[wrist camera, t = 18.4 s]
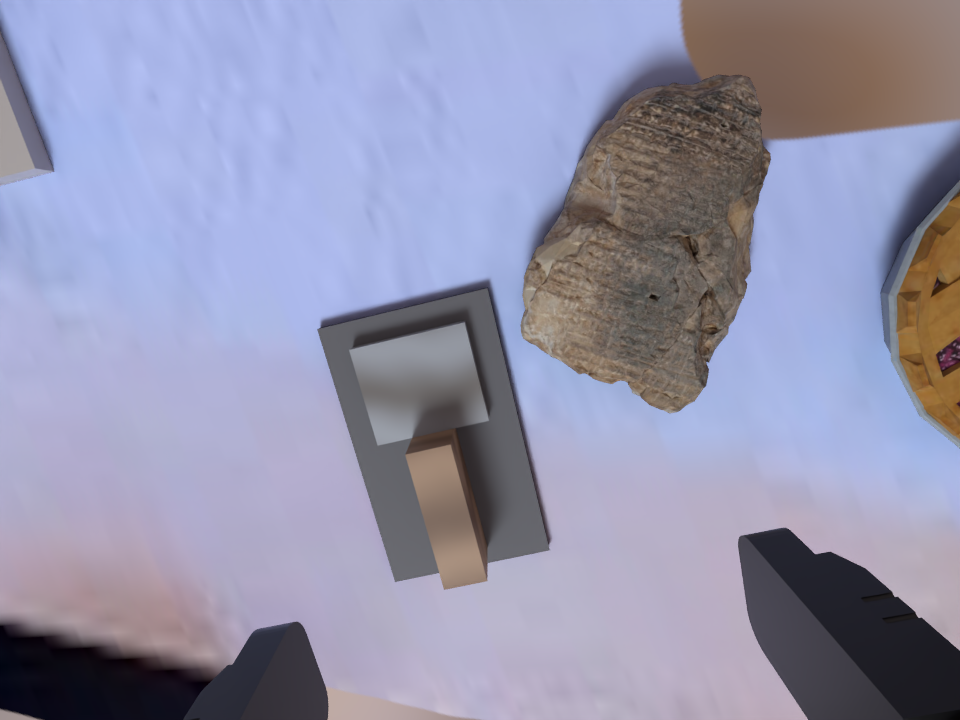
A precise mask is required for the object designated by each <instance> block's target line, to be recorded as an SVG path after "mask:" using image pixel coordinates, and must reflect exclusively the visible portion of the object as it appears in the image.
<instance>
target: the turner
mask: <svg viewBox="0 0 960 720" xmlns="http://www.w3.org/2000/svg"><path fill="white" fill-rule="evenodd" d="M349 352H350V355H351V358H352V362H353V365H354V368H355V372H356V375H357V378H358V382H359V385H360V388H361V392H362V395H363V398H364V402H365V405H366V408H367V412H368V415H369V418H370V422H371V425H372V429H373V432H374V435H375V439H376V442H377V445H383V444H387V443H392V442H396V441H401V440H405V439H410V438H412V439H411V442H410V444H409V447H408V449H407V452H406V454H405V456H406V459H407V463H408V466H409V470H410V473H411V476H412V480H413V483H414V487H415V490H416V494H417V497H418V501H419V504H420V508H421V511H422V515H423V518H424V521H425V525H426V528H427V532H428V535H429V539H430V542H431V546H432V549H433V553H434V556H435V560H436V563H437V566H438V570H439V573H440V577H441V580H442V584H443V587H444V590H445V589H450V588H455V587H460V586H465V585H470V584H475V583H480V582H485V581H487V557H488V547H487V544H486V540H485V536H484V532H483V528H482V525H481V521H480V517H479V513H478V509H477V506H476V502H475V498H474V494H473V491H472V487H471V483H470V479H469V475H468V472H467V468H466V464H465V460H464V457H463V453H462V449H461V445H460V441H459V438H458V434H457V430H456V428H459V427H463V426H468V425H472V424H476V423H481V422H485V421H489V414H488V410H487V406H486V402H485V398H484V394H483V390H482V386H481V382H480V378H479V374H478V370H477V366H476V362H475V358H474V354H473V350H472V346H471V342H470V338H469V334H468V330H467V326H466V322H465V321H461V322H456V323H452V324H448V325H444V326H440V327H436V328H431V329H427V330H423V331H419V332H415V333H410V334H406V335H402V336H398V337H394V338H389V339H385V340H381V341H377V342H373V343H368V344H364V345H360V346H356V347H352V348H351V349H350V350H349Z"/></svg>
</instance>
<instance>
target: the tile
mask: <svg viewBox="0 0 960 720" xmlns="http://www.w3.org/2000/svg"><path fill="white" fill-rule="evenodd" d="M51 172H54V170H53V167H52V165H51V162H50V159H49V157H48V154H47V152H46V149H45V146H44V144H43V141H42V139H41V136H40V133H39V131H38V128H37V126H36V123H35V120H34V118H33V115H32V112H31V110H30V107H29V105H28V102H27V99H26V97H25V94H24V92H23V89H22V86H21V84H20V81H19V79H18V76H17V73H16V71H15V68H14V65H13V63H12V60H11V58H10V55H9V52H8V50H7V47H6V45H5V42H4V39H3V37H2V34H1V32H0V186H2V185H6V184H10V183H14V182H17V181H21V180H25V179H29V178H33V177H36V176H40V175H44V174H48V173H51Z"/></svg>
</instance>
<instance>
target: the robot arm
mask: <svg viewBox="0 0 960 720" xmlns="http://www.w3.org/2000/svg"><path fill="white" fill-rule="evenodd" d="M738 548H739V555H740V562H741V569H742V576H743V583H744V590H745V597H746V604H747V611H748V616H749V620H750V623H751V626H752V629H753V631H754V634H755V636H756V639H757V641H758V643H759V645H760V647H761V649H762V650H763V652H764V654H765V655H766V657H767V658H768V660H769V661H770V663H771V664H772V666H773V667H774V669H775V670H776V672H777V673H778V675H779V676H780V678H781V679H782V681H783V682H784V684H785V685H786V687H787V688H788V690H789V691H790V693H791V694H792V696H793V697H794V699H795V700H796V702H797V703H798V705H799V706H800V708H801V709H802V711H803V712H804V714H805V715H806V717H807V718H808V720H960V651H959V650H958V649H957V648H956V647H955V646H954V645H952V644H951V643H950V642H949V641H948V640H947V639H945V638H944V637H943V636H942V635H941V634H940V633H939V632H937V631H936V630H935V629H934V628H933V627H932V626H931V625H929V624H928V623H927V622H926V621H925V620H924V619H923V618H918V617H917V615H916V613H915V611H913V610H912V609H911V608H910V607H909V606H908V605H907V604H905V603H904V602H903V601H902V600H901V599H900V598H899V597H894V595H893V593H892V591H891V590H889V589H888V588H887V587H886V586H885V585H884V584H882V583H881V582H880V581H879V580H878V579H877V578H876V577H874V576H873V575H872V574H871V573H870V572H869V571H868V570H866V569H865V568H863V567H861V566H859V565H857V564H855V563H853V562H851V561H849V560H847V559H845V558H842V557H840V556H838V555H836V554H834V553H832V552H826V553H821V554H816V555H815V554H814V553H813V552H812V551H811V550H810V549H809V548H808V547H807V546H806V545H805V544H804V543H803V542H802V541H801V540H800V539H799V538H798V537H797V536H796V535H795V534H794V533H792V532H791V531H790V530H789V529H787V528H779V529H774V530H769V531H764V532H759V533H754V534H749V535H744V536H740V537H739V541H738ZM327 719H328V696H327V691H326V687H325V684H324V681H323V678H322V676H321V673H320V670H319V667H318V665H317V662H316V659H315V656H314V653H313V651H312V648H311V645H310V642H309V640H308V637H307V634H306V631H305V629H304V627H303V626H302V625H301V624H300V623H299V622H292V623H287V624H282V625H277V626H271V627H266V628H261V629H257V630H255V631H254V632H253V633H252V634H251V636H250V637H249V639H248V640H247V642H246V644H245V645H244V647H243V649H242V650H241V652H240V654H239V655H238V657H237V658H236V660H235V662H234V663H233V665H227V666H226V667H225V668H224V669H223V670H222V671H221V672H220V673H219V674H218V675H217V676H216V677H215V678H214V679H213V680H212V681H211V682H210V683H209V684H208V685H207V686H206V687H205V688H204V689H203V690H202V691H201V693H200V694H199V696H198V697H197V699H196V701H195V702H194V704H193V705H192V707H191V708H190V710H189V711H188V713H187V715H186V716H185V718H184V719H183V720H327Z"/></svg>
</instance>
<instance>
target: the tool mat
mask: <svg viewBox="0 0 960 720" xmlns="http://www.w3.org/2000/svg"><path fill="white" fill-rule="evenodd" d="M461 321H465V322H466V326H467V330H468V334H469V338H470V342H471V346H472V350H473V354H474V358H475V362H476V366H477V370H478V374H479V378H480V382H481V386H482V390H483V394H484V398H485V402H486V406H487V410H488V414H489V421H485V422H481V423H476V424H472V425H468V426H463V427H459V428H456V430H457V434H458V438H459V441H460V445H461V449H462V453H463V457H464V460H465V464H466V468H467V472H468V475H469V479H470V483H471V487H472V491H473V494H474V498H475V502H476V506H477V509H478V513H479V517H480V521H481V525H482V528H483V532H484V536H485V540H486V544H487V547H488V557H487V563H490V562H494V561H499V560H504V559H509V558H514V557H519V556H524V555H529V554H533V553H538V552H543V551H548V550H549V545H548V541H547V537H546V532H545V528H544V524H543V520H542V516H541V511H540V507H539V503H538V499H537V494H536V490H535V486H534V482H533V478H532V473H531V469H530V465H529V461H528V456H527V452H526V448H525V444H524V440H523V435H522V431H521V427H520V423H519V418H518V414H517V410H516V406H515V402H514V397H513V393H512V389H511V385H510V380H509V376H508V372H507V368H506V364H505V359H504V355H503V351H502V347H501V343H500V338H499V334H498V330H497V326H496V321H495V317H494V313H493V309H492V305H491V300H490V296H489V292H488V288H484V289H480V290H476V291H472V292H468V293H463V294H459V295H455V296H451V297H447V298H443V299H439V300H434V301H430V302H426V303H422V304H418V305H414V306H410V307H405V308H401V309H397V310H393V311H389V312H385V313H381V314H376V315H372V316H368V317H364V318H360V319H356V320H352V321H347V322H343V323H339V324H335V325H331V326H327V327H323V328H319V329H317V330H318V333H319V336H320V340H321V343H322V346H323V349H324V352H325V356H326V359H327V362H328V365H329V369H330V372H331V375H332V378H333V382H334V385H335V388H336V391H337V395H338V398H339V401H340V404H341V408H342V411H343V414H344V417H345V421H346V424H347V427H348V430H349V433H350V437H351V440H352V443H353V446H354V450H355V453H356V456H357V459H358V463H359V466H360V469H361V472H362V476H363V479H364V482H365V485H366V489H367V492H368V495H369V498H370V502H371V505H372V508H373V511H374V514H375V518H376V521H377V524H378V527H379V531H380V534H381V537H382V540H383V544H384V547H385V550H386V553H387V557H388V560H389V563H390V566H391V570H392V573H393V576H394V579H395V582H397V581H402V580H407V579H411V578H416V577H421V576H426V575H431V574H436V573H439V570H438V566H437V563H436V560H435V556H434V553H433V549H432V546H431V542H430V539H429V535H428V532H427V528H426V525H425V521H424V518H423V515H422V511H421V508H420V504H419V501H418V497H417V494H416V490H415V487H414V483H413V480H412V476H411V473H410V470H409V466H408V463H407V459H406V456H405V454H406V452H407V449H408V447H409V444H410V442H411V439H412V438H410V439H405V440H401V441H396V442H392V443H387V444H383V445H377V442H376V439H375V435H374V432H373V429H372V425H371V422H370V418H369V415H368V412H367V408H366V405H365V402H364V398H363V395H362V392H361V388H360V385H359V382H358V378H357V375H356V372H355V368H354V365H353V362H352V358H351V355H350V352H349V350H350V349H351V348H352V347H356V346H360V345H364V344H368V343H373V342H377V341H381V340H385V339H389V338H394V337H398V336H402V335H406V334H410V333H415V332H419V331H423V330H427V329H431V328H436V327H440V326H444V325H448V324H452V323H456V322H461Z"/></svg>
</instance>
